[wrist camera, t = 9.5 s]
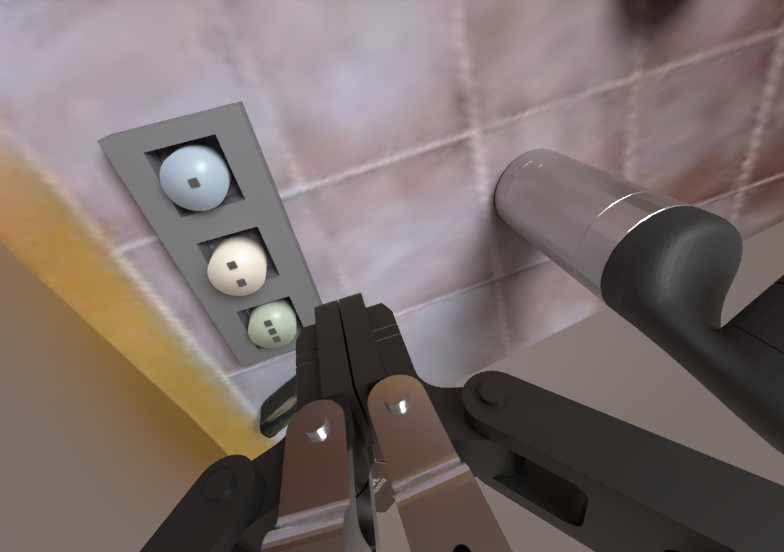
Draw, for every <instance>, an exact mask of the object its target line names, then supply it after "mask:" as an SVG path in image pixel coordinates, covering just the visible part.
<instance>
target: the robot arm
mask: <svg viewBox="0 0 784 552" xmlns="http://www.w3.org/2000/svg"><path fill="white" fill-rule="evenodd" d="M495 205H496V210H497V212H498V214H499V216H500V218H501V219H502V220H503V221H504V222H505V223H506V224H508V225H509V226H510V227H511V228H513V229H514V230H515V231H516V232H518V233H519V234H520V235H521V236H522V237H524V238H525V239H526V240H527V241H528V242H530V243H531V244H532V245H533V246H535V247H536V248H537V249H538V250H540V251H541V252H542V253H543V254H545V255H546V256H547V257H548V258H550V259H551V260H552V261H553V262H554V263H556V264H557V265H558V266H559V267H561V268H562V269H563V270H564V271H566V272H567V273H568V274H569V275H571V276H572V277H573V278H574V279H576V280H577V281H578V282H579V283H580V284H582V285H583V286H584V287H586V288H587V289H588V290H589V291H591V292H592V293H593V294H594V295H596V296H597V297H598V298H599V299H601V300H602V301H603V302H604V303H605V304H607V305H608V306H609V307H610V308H611V309H613V310H614V311H615V312H617V313H618V314H619V315H620V316H622V317H623V318H625V319H626V320H627V321H629V322H630V323H631V324H632V325H634V326H635V327H636V328H637V329H639V330H640V331H641V332H642V333H643V334H645V335H646V336H647V337H648V338H650V339H651V340H652V341H653V342H655V343H656V344H657V345H658V346H659V347H661V348H662V349H663V350H664V351H665V352H666V353H668V354H669V355H670V356H671V357H672V358H673V359H674V360H676V361H677V362H678V363H679V364H680V365H682V367H684V368H685V369H686V370H687V371H688V372H689V373H690V374H691V375H693V376H694V377H695V378H696V379H697V380H698V381H699V382H700V383H701V384H702V385H704V386H705V387H706V388H707V389H708V390H709V391H710V392H711V393H712V394H713V395H714V396H716V397H717V398H718V399H719V400H720V401H721V402H722V403H723V404H724V405H725V406H727V407H728V408H729V409H730V410H731V411H732V412H733V413H734V414H735V415H737V416H738V417H739V418H740V419H741V420H742V421H743V422H745V423H746V424H747V425H748V426H749V427H750V428H751V429H753V430H754V431H755V432H756V433H757V434H758V435H760V436H761V437H762V438H763V439H764V440H766V441H767V442H768V443H769V444H770V445H771V446H773V447H774V448H776V449H777V450H778V451H780V452H781V453H782V454H783V455H784V275H783V276H782V277H781V278H779V279H778V280H777V281H776V282H774V284H773V285H771V286H770V287H769V288H768V289H766V290H765V291H764V292H763V293H762V294H760V295H759V296H758V297H757V298H756V299H755V300H753V301H752V302H751V303H750V304H749V305H748V306H746V307H745V308H744V309H743V310H742V311H741V312H740V313H738V314H737V315H736V316H735V317H734V318H732V319H731V320H730V321H729V322H728V323H727V324H726V325H724V326H723V327H721V311H722V307H723V303H724V300H725V297H726V295H727V293H728V290H729V288H730V286H731V284H732V282H733V280H734V278H735V275H736V273H737V271H738V268H739V265H740V262H741V257H742V240H741V236H740V234H739V232H738V230H737V229H736V227H735V226H733V225H732V224H731V223H730V222H729V221H727V220H726V219H724V218H722V217H720V216H718V215H715V214H713V213H710V212H708V211H705V210H702V209H700V208H697V207H695V206H692V205H690V204H687V203H685V202H682V201H680V200H677V199H674V198H672V197H669V196H667V195H664V194H661V193H658V192H656V191H653V190H651V189H648V188H646V187H643V186H641V185H638V184H635V183H633V182H630V181H628V180H625V179H623V178H620V177H618V176H615V175H612V174H610V173H607V172H605V171H602V170H600V169H597V168H595V167H592V166H589V165H587V164H584V163H582V162H579V161H577V160H574V159H572V158H569V157H567V156H564V155H562V154H559V153H556V152H554V151H551V150H546V149H540V150H534V151H531V152H528V153H526V154H524V155H522V156H520V157H519V158H517V159H516V160H515V161H514V162H513V163H511V165H510V166H509V167H508V168H507V169H506V170H505V172H504V173H503V175H502V177H501V178H500V181H499V183H498V186H497V189H496V194H495ZM339 304H340V305H339ZM314 312H315V323H316V324H313V325H310V326H306V327H303V328H302V329H301V331H300V333H299V336H298V338H297V340H296V356H297V357H296V366H297V368H296V385H297V413H296V414H295V415H294V416H293V417H292V419H291V420H290V422H289V424H288V427H287V431H286V436H285V437H284V438H283V439H282V440H281V441H280V442H279V443H277V444H276V445H275V446H273V447H272V448H270V449H269V450H267V451H266V452H264V453H263V454H261V455H260V456H258V457H257V458H255V459H254V460H252V461H251V460H250V459H249V458H247V457H246V456H243V455H230V456H227V457H224V458H222V459H220V460H218V461H217V462H215V463H214V464H212V465H211V466H210V467H209V468H208V469H206V470H205V471H204V472H203V473H202V475H201V476H200V477H199V478H198V479H197V481H196V482H195V483H194V485H193V486H192V487H191V488H190V490H189V491H188V492H187V493H186V494H185V496H184V497H183V498H182V500H181V501H180V502H179V503H178V505H177V506H176V507H175V508H174V509H173V511H172V512H171V513H170V515H169V516H168V517H167V518H166V520H165V521H164V522H163V523H162V525H161V526H160V527H159V528H158V530H157V531H156V532H155V533H154V535H153V536H152V537H151V538H150V540H149V541H148V542H147V543H146V545H145V546H144V547H143V548H142V550H141V551H140V552H381V551H380V542H379V532H378V524H377V515H376V506H375V497H374V488H373V480H372V474H371V471H370V464H369V458H368V453H367V448H366V447H367V446H370V445H373V444H375V441H374V436H373V433H374V435H375V438H376V440H377V443H378V442H379V445H380V449H381V452H382V455H383V458H384V461H385V465H386V468H387V471H388V474H389V477H390V481H391V484H392V487H393V491H394V492H393V493H394V498H395V501H396V505H397V508H398V511H399V515H400V518H401V521H402V524H403V528H404V531H405V534H406V537H407V541H408V544H409V547H410V550H411V552H513V551H512V549H511V548H510V546H509V544H508V542H507V540H506V538H505V536H504V534H503V532H502V530H501V528H500V526H499V524H498V523H497V520H496V518H495V516H494V514H493V513H492V511H491V509H490V507H489V505H488V503H487V501H486V499H485V497H484V495H483V493H482V491H481V489H480V487H479V485H478V484H477V481H476V479H475V478H474V477H478V478H479V479H480V480H481V481H482V482H484V483H485V484H486V485H488V486H490V487H491V488H493V489H495V490H496V491H498V492H499V493H501V494H503V495H504V496H506V497H507V498H509V499H511V500H512V501H514V502H516V503H518V504H519V505H520V506H522V507H524V508H525V509H527V510H528V511H530V512H532V513H533V514H535V515H537V516H538V517H540V518H541V519H543V520H545V521H546V522H548V523H550V524H551V525H553V526H555V527H556V528H558V529H559V530H561V531H563V532H564V533H566V534H567V535H569V536H571V537H572V538H574V539H575V540H577V541H579V542H580V543H582V544H584V545H585V546H587V547H588V548H590V549H592V550H593V551H595V552H784V486H782V485H780V484H777V483H775V482H772V481H770V480H767V479H765V478H762V477H760V476H758V475H755V474H752V473H750V472H748V471H745V470H743V469H740V468H738V467H735V466H733V465H731V464H728V463H726V462H723V461H721V460H718V459H716V458H713V457H711V456H708V455H706V454H703V453H701V452H698V451H696V450H693V449H691V448H689V447H686V446H683V445H681V444H679V443H676V442H674V441H671V440H669V439H666V438H664V437H661V436H659V435H657V434H654V433H652V432H649V431H647V430H644V429H642V428H639V427H637V426H634V425H632V424H629V423H627V422H625V421H622V420H619V419H617V418H615V417H612V416H610V415H607V414H605V413H602V412H600V411H597V410H595V409H592V408H590V407H588V406H585V405H582V404H580V403H578V402H575V401H573V400H570V399H568V398H565V397H563V396H560V395H558V394H555V393H553V392H550V391H548V390H545V389H543V388H541V387H538V386H536V385H533V384H531V383H528V382H526V381H523V380H521V379H519V378H516V377H514V376H511V375H509V374H506V373H503V372H498V371H485V372H481V373H478V374H476V375H474V376H472V377H471V378H470V379H469V380H468V381H467V382H466V384H465V385H464V387H460V388H441V387H435V386H432V385H430V384H427V383H426V382H424V381H423V380H422V379H421V378H419V376H418V375H417V374H416V372H415V369H414V367H413V364H412V362H411V359H410V356H409V354H408V351H407V349H406V346H405V343H404V341H403V338H402V336H401V333H400V331H399V328H398V325H397V323H396V320H395V318H394V315H393V312H392V311H391V310H390V309H389V308H387V307H386V306H385V305H384V304H382V303H380V304H377V305H374V306H370V307H367V308H366V307H365V304H364V301H363V297H362V294H361V293H358V294H355V295H352V296H348V297H345V298H342V299H339V303H338V301H337V300H336V301H332V302H329V303H326V304H323V305H319V306H316V307H314ZM372 430H373V431H372Z"/></svg>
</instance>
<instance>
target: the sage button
mask: <svg viewBox="0 0 784 552" xmlns="http://www.w3.org/2000/svg"><path fill="white" fill-rule="evenodd" d="M248 335H249V337H250V339H251V340H252V341H253V342H254V343H255V344H257V345H258V346H261V347H264V348H279V347H283V346H285V345H287V344H288V343H290V342H291V341H292V340H293V339H294V337H295V335H296V310H295V307H294V305H293V304H292V303H291V302H290V301H288V300H287V299H285V298H281V299H278V300H275V301H271V302H268V303H265V304H262V305H258V306H255V307H252V309H251V313H250V320H249V326H248Z"/></svg>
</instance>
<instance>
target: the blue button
mask: <svg viewBox="0 0 784 552" xmlns="http://www.w3.org/2000/svg"><path fill="white" fill-rule="evenodd" d="M159 176H160V183H161V186H162V188H163V190H164V192H165V193H166V195H167V196H168V197H169V198H170V199H171V200H172V201H173V202H175V203H176V204H178V205H179V206H181V207H183V208H186V209H189V210H193V211H206V210H210V209H213V208H215V207H217V206H218V205H219V204H220V203H221V202H222V201H223V200H224V198H225V196H226V194H227V192H228V189H229V187H230V185H231V181H232V171H231V167H230V165H229V163H228V161H227V160H226V158H225V157H224V156H223V155H222V154H221V153H220V152H219V151H218V150H216V149H215V148H213V147H211V146H208V145H205V144H201V143H189V144H185V145H183V146H181V147H179V148H178V149H177V150H176V151H174V152H173V153H172V154H171V155H170V156H169V157H168V158H167V159H166V160H165V161H164V162H163V164H162V166H161V168H160V174H159Z"/></svg>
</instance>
